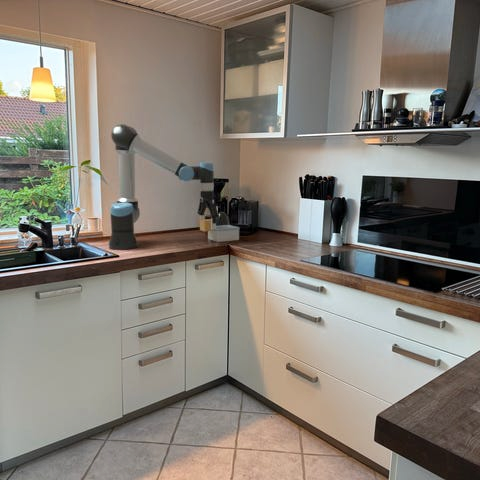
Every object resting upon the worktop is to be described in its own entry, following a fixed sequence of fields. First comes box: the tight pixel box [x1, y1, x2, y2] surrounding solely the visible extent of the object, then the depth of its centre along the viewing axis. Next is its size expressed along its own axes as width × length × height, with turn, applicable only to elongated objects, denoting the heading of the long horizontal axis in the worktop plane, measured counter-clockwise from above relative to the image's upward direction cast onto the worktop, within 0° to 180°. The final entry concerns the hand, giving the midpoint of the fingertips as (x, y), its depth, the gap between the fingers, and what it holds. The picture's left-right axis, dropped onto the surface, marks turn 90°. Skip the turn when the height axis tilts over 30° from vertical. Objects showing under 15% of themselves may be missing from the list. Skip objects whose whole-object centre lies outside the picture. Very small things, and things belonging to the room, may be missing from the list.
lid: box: [199, 218, 241, 232], centre depth 254 cm, size 21×13×7 cm, turn 122°
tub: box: [207, 230, 240, 243], centre depth 256 cm, size 14×12×7 cm
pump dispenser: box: [216, 211, 230, 226], centre depth 273 cm, size 10×10×15 cm
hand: (207, 227), depth 250 cm, fingers open, 13 cm apart
